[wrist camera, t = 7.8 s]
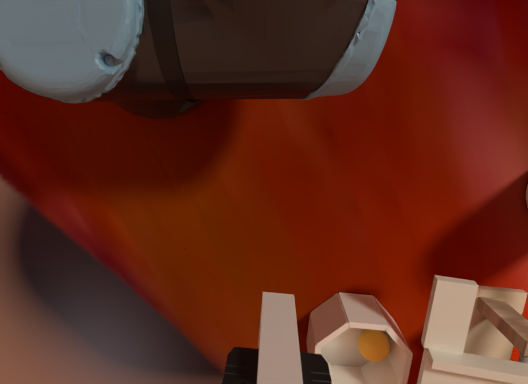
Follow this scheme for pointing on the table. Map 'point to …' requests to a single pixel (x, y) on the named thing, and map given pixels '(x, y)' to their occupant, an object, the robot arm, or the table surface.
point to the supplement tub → (527, 196)
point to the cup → (346, 340)
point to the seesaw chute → (459, 341)
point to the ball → (373, 345)
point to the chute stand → (497, 323)
